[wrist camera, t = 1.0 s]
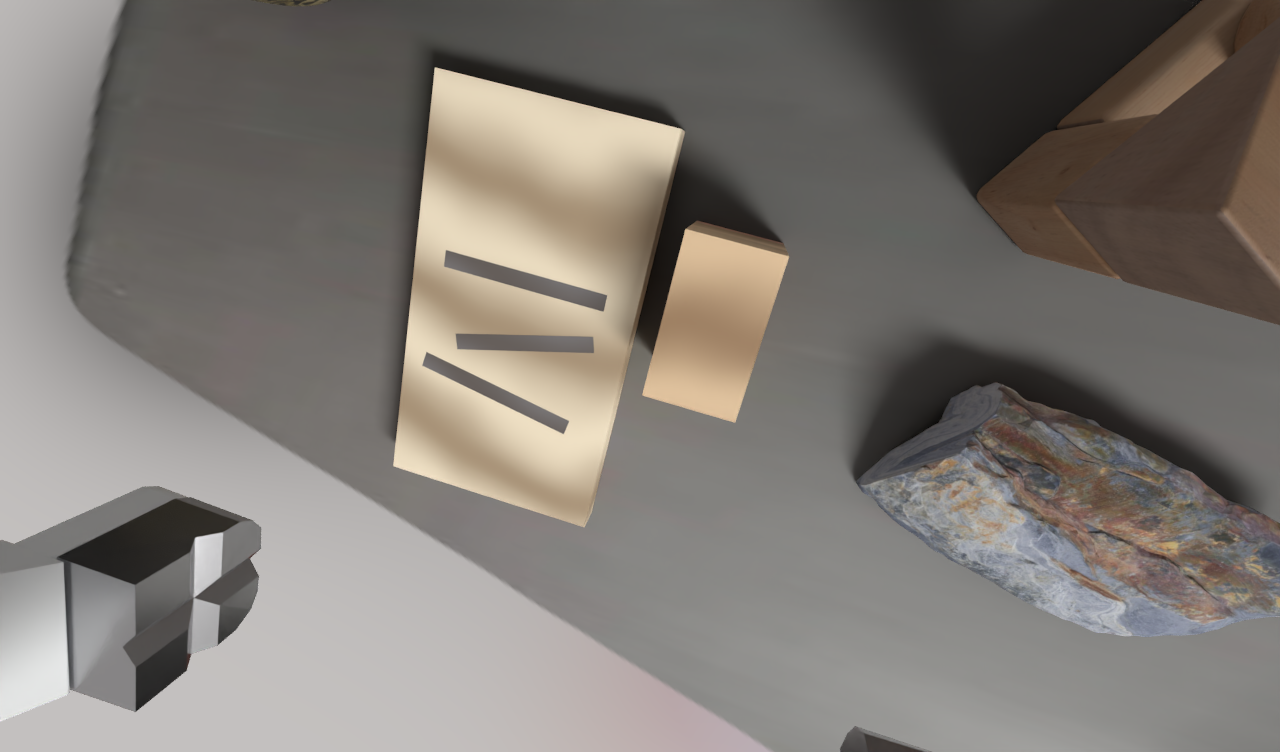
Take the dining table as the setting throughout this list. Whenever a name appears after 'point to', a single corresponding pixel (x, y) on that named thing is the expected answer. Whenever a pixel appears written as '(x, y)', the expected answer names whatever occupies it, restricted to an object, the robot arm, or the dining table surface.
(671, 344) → the block
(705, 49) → the dining table surface
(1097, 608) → the stone
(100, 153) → the dining table surface
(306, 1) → the cup
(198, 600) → the robot arm
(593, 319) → the board
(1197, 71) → the stacked wooden blocks
